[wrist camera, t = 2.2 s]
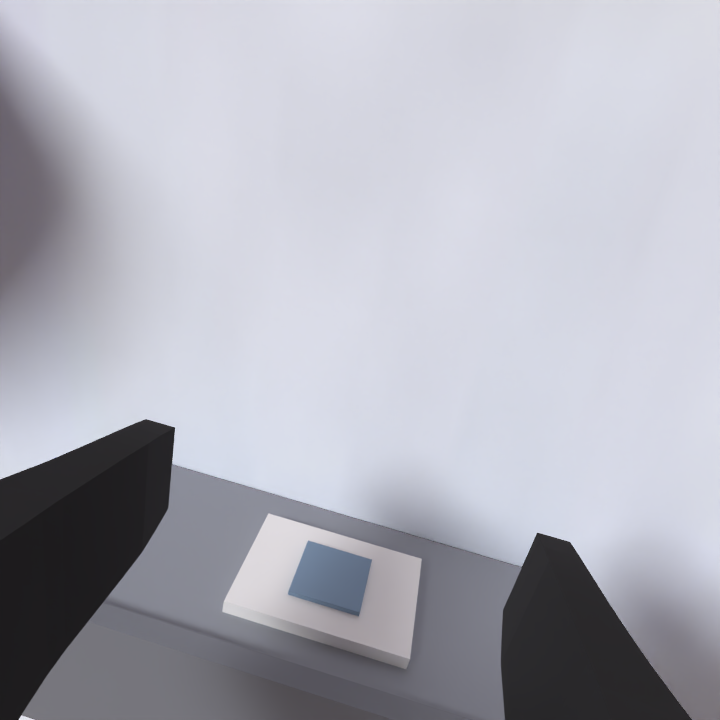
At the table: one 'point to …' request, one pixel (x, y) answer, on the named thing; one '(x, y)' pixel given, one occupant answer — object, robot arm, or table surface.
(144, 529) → the robot arm
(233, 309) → the table surface
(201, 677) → the block
